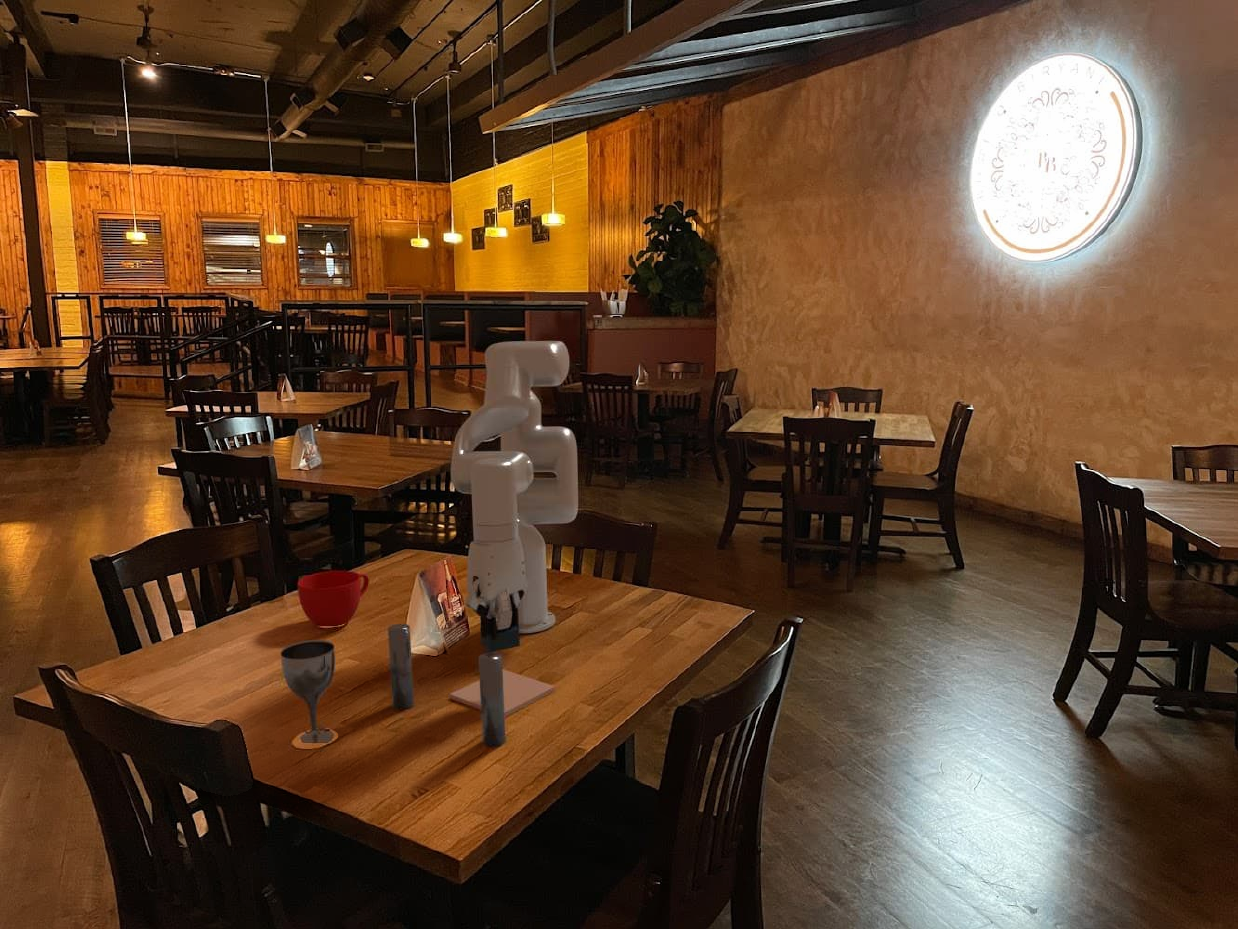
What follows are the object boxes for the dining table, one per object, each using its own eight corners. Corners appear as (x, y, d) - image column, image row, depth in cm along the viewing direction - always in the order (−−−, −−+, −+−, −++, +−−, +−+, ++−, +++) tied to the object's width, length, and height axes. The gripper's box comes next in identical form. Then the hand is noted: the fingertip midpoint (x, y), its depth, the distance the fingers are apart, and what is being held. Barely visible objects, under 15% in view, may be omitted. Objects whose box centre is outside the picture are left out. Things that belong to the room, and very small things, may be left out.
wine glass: (296, 728, 145) (288, 641, 142) (346, 725, 146) (339, 638, 143) (282, 752, 137) (273, 660, 134) (335, 749, 138) (327, 658, 135)
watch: (507, 634, 159) (503, 575, 157) (523, 649, 152) (520, 588, 150) (477, 640, 157) (473, 581, 155) (492, 656, 150) (488, 593, 148)
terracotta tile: (449, 698, 155) (449, 694, 155) (502, 673, 165) (502, 669, 165) (503, 718, 147) (503, 713, 147) (555, 690, 157) (555, 686, 157)
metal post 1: (388, 706, 152) (383, 628, 150) (405, 698, 155) (400, 622, 153) (402, 711, 150) (397, 632, 148) (418, 704, 153) (414, 626, 151)
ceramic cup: (389, 614, 198) (386, 571, 196) (328, 638, 184) (324, 592, 182) (350, 604, 205) (346, 563, 203) (288, 627, 191) (284, 583, 189)
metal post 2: (477, 742, 139) (473, 658, 137) (494, 733, 142) (490, 650, 139) (494, 749, 137) (490, 663, 134) (510, 740, 140) (506, 656, 137)
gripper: (514, 519, 160) (518, 616, 163) (442, 538, 146) (448, 644, 150) (545, 524, 155) (549, 624, 158) (474, 545, 142) (479, 653, 145)
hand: (500, 632), depth 154 cm, fingers closed on watch, 4 cm apart
